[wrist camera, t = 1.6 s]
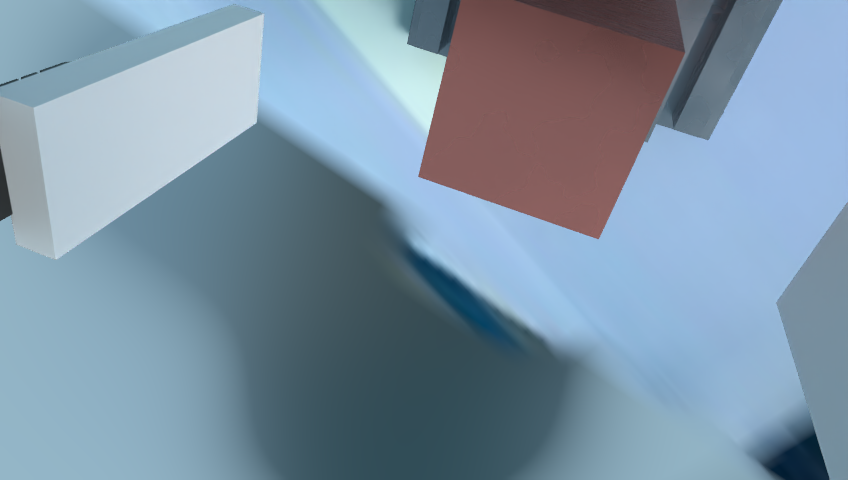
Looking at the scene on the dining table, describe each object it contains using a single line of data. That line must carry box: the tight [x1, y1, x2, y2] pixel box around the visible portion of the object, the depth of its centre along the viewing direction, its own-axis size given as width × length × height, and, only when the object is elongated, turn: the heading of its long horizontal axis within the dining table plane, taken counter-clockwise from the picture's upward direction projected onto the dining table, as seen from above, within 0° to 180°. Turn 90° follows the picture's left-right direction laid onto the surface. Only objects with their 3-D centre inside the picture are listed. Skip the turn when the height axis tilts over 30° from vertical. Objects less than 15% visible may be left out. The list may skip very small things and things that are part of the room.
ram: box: [418, 0, 714, 239], centre depth 19 cm, size 8×8×11 cm
